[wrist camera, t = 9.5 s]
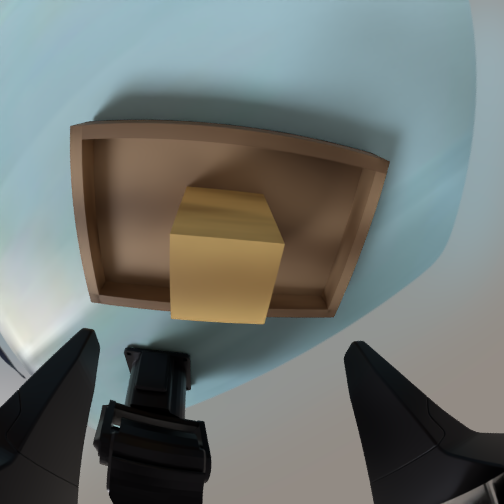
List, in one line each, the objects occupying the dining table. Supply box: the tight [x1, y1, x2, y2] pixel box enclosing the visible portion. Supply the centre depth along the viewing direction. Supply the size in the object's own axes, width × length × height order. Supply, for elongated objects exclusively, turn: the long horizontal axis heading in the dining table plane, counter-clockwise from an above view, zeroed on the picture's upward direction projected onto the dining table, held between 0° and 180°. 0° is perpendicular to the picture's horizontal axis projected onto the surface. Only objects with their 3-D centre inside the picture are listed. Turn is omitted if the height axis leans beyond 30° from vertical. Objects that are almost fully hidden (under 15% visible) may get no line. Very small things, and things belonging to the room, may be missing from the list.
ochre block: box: [170, 186, 285, 324], centre depth 14 cm, size 4×4×6 cm
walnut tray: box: [70, 120, 390, 317], centre depth 16 cm, size 12×18×2 cm, turn 81°
